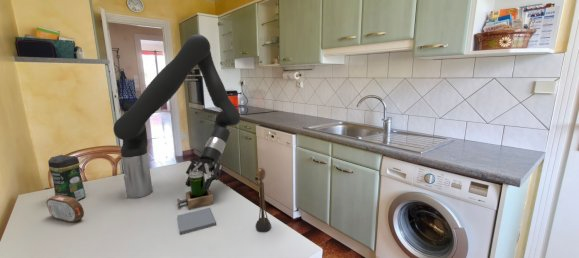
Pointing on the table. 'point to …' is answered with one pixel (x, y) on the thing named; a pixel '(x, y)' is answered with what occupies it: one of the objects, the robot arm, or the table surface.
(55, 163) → the coffee jar
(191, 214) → the slate mat
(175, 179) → the table surface
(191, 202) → the light wood square frame
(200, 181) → the beer can
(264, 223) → the wooden tabletop sculpture
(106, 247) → the table surface
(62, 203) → the tin
